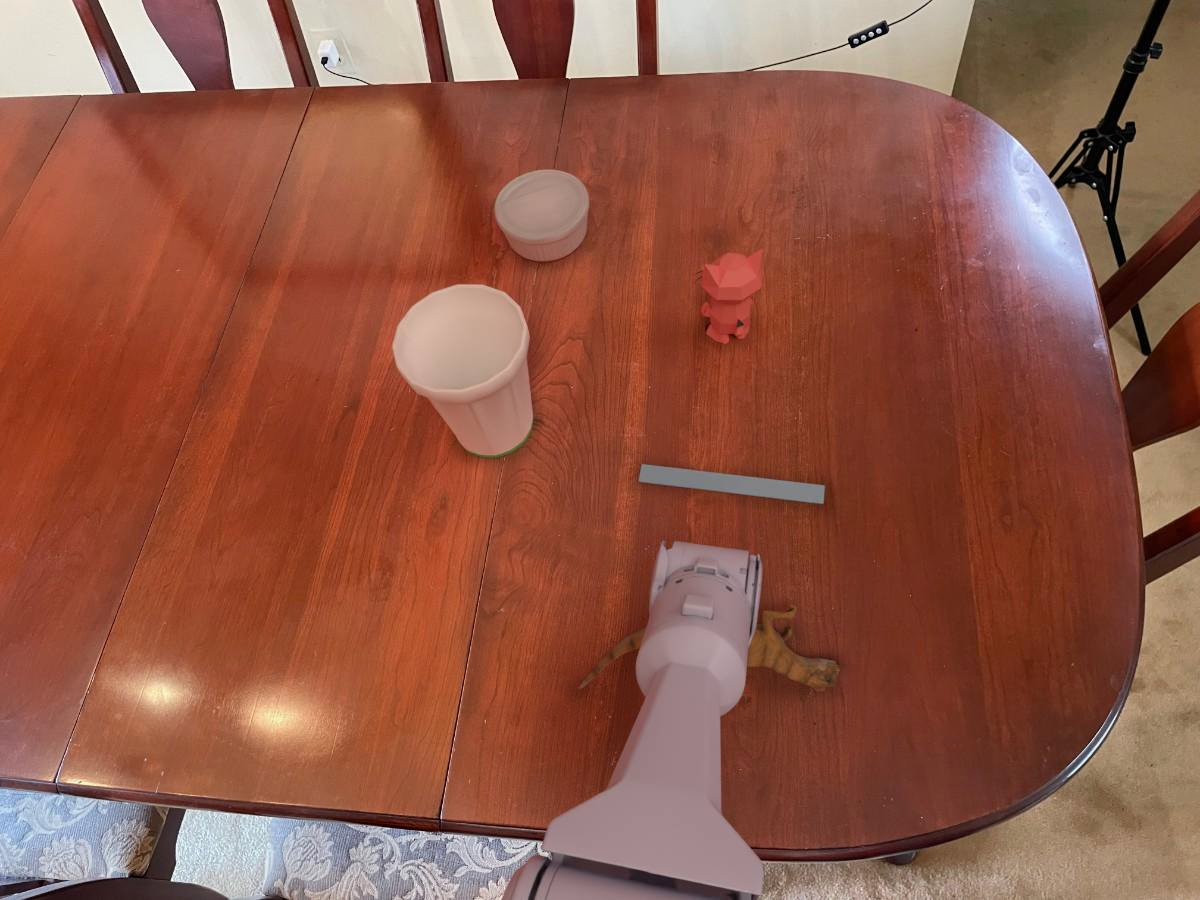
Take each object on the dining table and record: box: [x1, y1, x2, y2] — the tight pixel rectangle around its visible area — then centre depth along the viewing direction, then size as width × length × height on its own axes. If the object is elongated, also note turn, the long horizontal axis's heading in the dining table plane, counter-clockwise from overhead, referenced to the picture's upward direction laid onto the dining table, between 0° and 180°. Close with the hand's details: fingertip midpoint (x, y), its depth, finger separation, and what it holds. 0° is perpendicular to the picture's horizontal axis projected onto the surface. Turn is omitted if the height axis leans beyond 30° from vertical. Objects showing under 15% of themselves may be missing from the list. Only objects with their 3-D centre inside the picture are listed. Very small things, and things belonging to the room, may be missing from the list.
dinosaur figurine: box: [577, 604, 841, 693], centre depth 73 cm, size 7×22×12 cm
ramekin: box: [493, 169, 590, 263], centre depth 100 cm, size 11×11×5 cm
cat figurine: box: [692, 247, 764, 345], centre depth 87 cm, size 7×7×12 cm
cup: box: [391, 283, 535, 459], centre depth 83 cm, size 12×12×15 cm
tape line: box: [637, 463, 826, 505], centre depth 83 cm, size 2×18×1 cm, turn 79°
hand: (704, 684), depth 72 cm, fingers closed
